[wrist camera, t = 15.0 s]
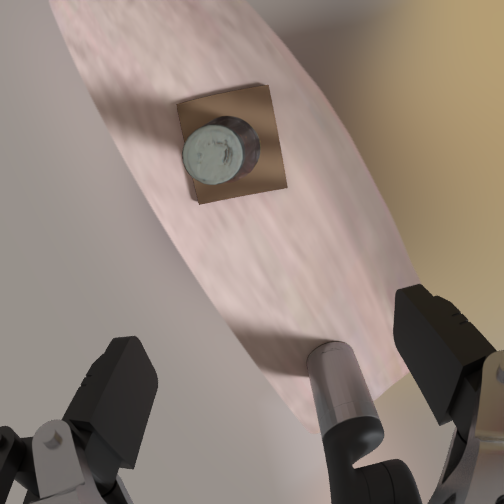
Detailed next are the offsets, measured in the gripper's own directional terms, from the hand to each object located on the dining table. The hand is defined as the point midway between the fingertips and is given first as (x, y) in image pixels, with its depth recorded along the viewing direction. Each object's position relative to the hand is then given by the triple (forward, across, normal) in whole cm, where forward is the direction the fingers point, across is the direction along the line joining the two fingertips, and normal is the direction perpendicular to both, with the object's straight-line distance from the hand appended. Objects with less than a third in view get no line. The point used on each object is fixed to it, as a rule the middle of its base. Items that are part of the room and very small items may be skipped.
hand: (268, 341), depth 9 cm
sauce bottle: (+32, +2, -5) cm, 33 cm away
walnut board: (+33, +2, -6) cm, 34 cm away
